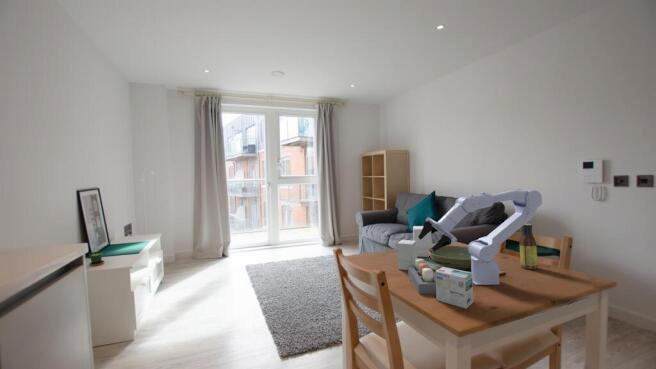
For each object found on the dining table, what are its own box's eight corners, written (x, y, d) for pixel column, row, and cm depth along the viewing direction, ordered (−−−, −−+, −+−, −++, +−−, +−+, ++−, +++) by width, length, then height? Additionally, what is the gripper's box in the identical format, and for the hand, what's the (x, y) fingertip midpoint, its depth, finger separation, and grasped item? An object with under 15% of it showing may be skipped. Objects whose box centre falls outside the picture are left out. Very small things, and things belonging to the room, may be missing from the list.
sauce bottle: (539, 268, 131) (539, 224, 130) (533, 271, 127) (533, 226, 126) (523, 264, 136) (522, 222, 135) (517, 267, 133) (516, 224, 132)
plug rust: (427, 273, 122) (427, 263, 122) (429, 277, 118) (429, 266, 118) (418, 274, 122) (417, 263, 122) (420, 277, 118) (419, 266, 118)
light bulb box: (474, 302, 101) (473, 272, 101) (466, 309, 96) (465, 277, 96) (443, 294, 109) (442, 265, 108) (435, 300, 104) (434, 270, 104)
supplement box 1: (417, 266, 140) (417, 240, 139) (413, 271, 134) (412, 244, 133) (402, 264, 144) (401, 239, 143) (397, 269, 138) (396, 242, 137)
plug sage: (423, 269, 128) (423, 258, 128) (426, 272, 124) (425, 261, 124) (414, 269, 128) (414, 258, 128) (416, 272, 124) (416, 261, 124)
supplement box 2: (430, 252, 162) (429, 225, 161) (432, 257, 153) (431, 229, 153) (413, 252, 164) (412, 225, 164) (414, 256, 156) (413, 228, 155)
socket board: (428, 273, 130) (428, 265, 130) (443, 293, 109) (443, 283, 109) (407, 273, 131) (407, 265, 131) (418, 293, 110) (418, 284, 110)
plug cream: (431, 279, 116) (431, 267, 116) (434, 282, 112) (433, 271, 112) (421, 279, 116) (421, 268, 116) (424, 283, 112) (423, 271, 112)
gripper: (433, 205, 120) (410, 229, 120) (462, 226, 109) (436, 251, 109) (438, 214, 124) (415, 236, 124) (466, 234, 114) (441, 258, 113)
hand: (426, 244), depth 117 cm, fingers open, 7 cm apart
